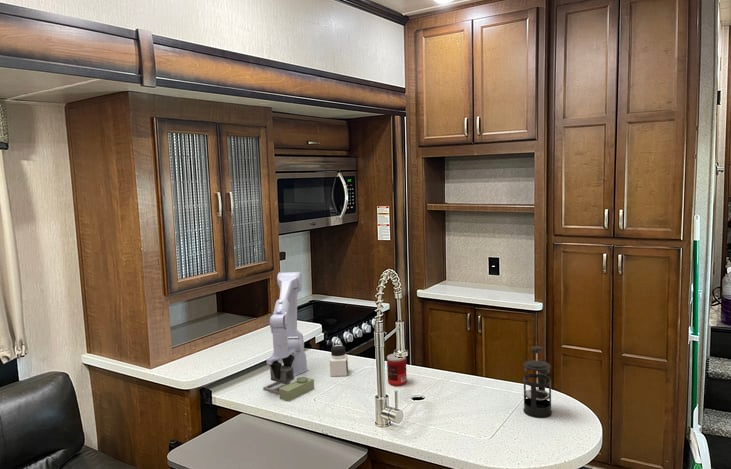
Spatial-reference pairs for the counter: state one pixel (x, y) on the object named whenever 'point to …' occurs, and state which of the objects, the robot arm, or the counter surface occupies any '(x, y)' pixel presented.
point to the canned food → (396, 370)
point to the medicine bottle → (338, 361)
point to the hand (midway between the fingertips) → (282, 376)
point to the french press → (537, 395)
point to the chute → (284, 374)
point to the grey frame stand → (292, 388)
